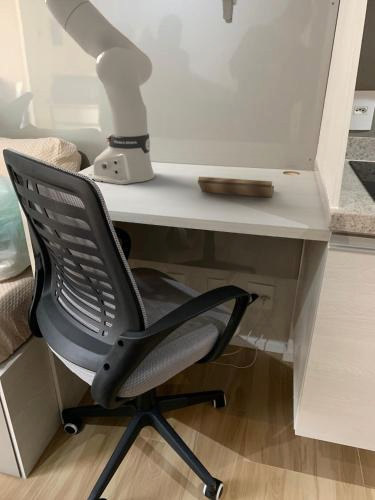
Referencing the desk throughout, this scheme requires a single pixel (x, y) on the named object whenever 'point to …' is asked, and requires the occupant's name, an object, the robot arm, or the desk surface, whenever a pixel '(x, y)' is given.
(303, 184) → the desk surface
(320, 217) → the desk surface
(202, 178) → the plank
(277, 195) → the desk surface
